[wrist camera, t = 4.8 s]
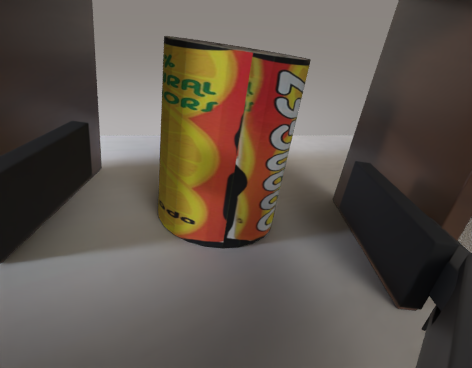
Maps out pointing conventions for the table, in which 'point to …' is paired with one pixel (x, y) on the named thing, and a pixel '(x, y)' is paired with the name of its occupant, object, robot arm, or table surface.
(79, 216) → the table surface
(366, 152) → the cubby
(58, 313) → the table surface
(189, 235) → the beverage can
